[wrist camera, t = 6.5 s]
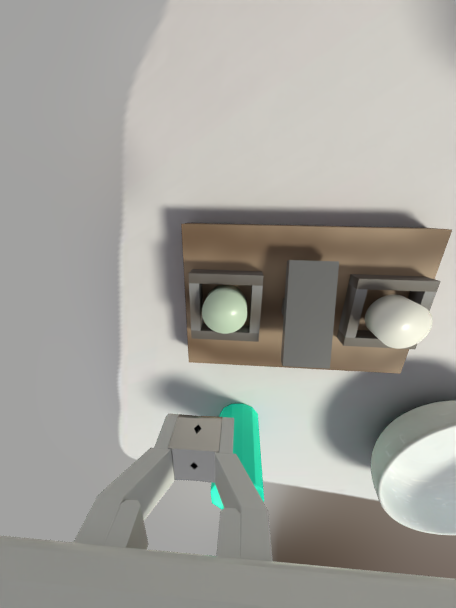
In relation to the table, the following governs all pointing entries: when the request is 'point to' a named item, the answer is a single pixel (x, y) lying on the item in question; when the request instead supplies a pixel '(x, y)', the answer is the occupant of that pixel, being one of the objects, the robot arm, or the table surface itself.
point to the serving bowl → (419, 468)
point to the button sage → (225, 309)
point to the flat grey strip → (309, 313)
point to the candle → (244, 446)
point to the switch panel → (272, 278)
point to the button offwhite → (398, 321)
